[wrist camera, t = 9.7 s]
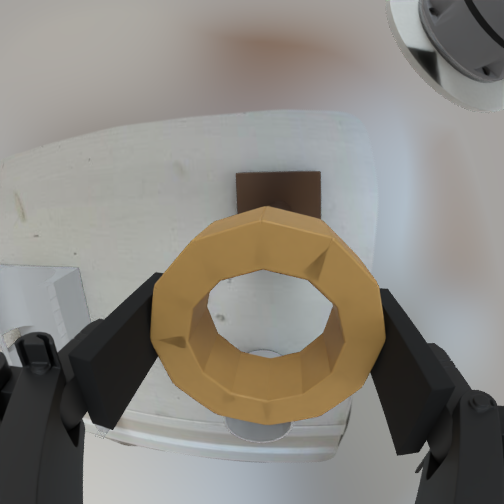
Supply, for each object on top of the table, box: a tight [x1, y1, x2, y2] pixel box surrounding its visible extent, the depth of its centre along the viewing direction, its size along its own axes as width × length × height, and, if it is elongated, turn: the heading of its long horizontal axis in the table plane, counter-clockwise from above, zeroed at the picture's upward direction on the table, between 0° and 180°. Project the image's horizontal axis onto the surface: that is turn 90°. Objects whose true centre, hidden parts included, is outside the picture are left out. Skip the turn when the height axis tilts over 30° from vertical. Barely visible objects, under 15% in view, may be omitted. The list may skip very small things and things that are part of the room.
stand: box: [236, 171, 321, 219], centre depth 24 cm, size 8×8×14 cm
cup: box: [223, 350, 294, 443], centre depth 31 cm, size 7×10×9 cm
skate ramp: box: [0, 265, 110, 437], centre depth 34 cm, size 25×23×10 cm
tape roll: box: [150, 206, 386, 425], centre depth 11 cm, size 8×8×3 cm
